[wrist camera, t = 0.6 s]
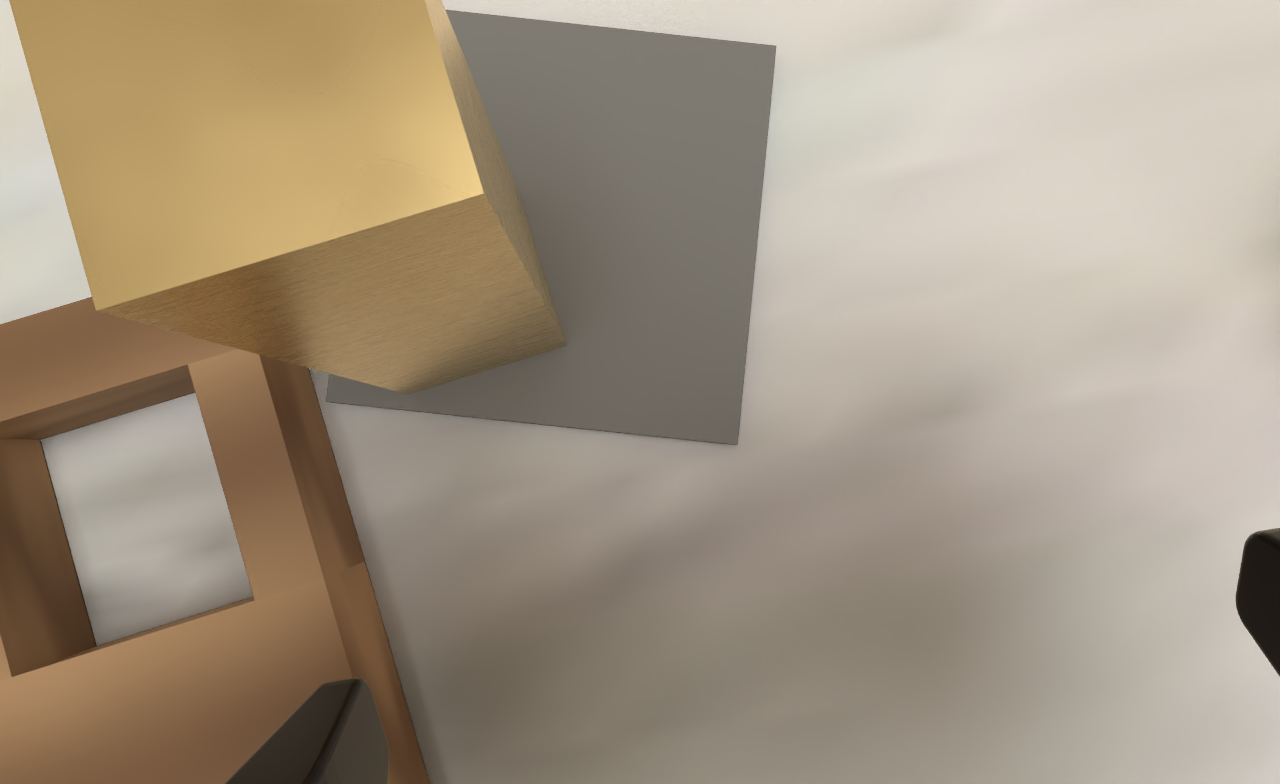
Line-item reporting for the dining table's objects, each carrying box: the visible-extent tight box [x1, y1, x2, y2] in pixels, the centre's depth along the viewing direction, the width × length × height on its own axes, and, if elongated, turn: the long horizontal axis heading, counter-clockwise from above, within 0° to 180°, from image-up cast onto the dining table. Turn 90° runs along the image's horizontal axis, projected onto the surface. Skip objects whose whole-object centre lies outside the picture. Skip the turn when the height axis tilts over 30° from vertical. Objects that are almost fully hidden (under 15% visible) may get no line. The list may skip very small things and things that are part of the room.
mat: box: [326, 10, 776, 445], centre depth 22 cm, size 10×10×1 cm
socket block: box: [0, 297, 430, 784], centre depth 20 cm, size 14×8×3 cm, turn 17°
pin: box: [9, 0, 567, 395], centre depth 16 cm, size 4×4×13 cm
